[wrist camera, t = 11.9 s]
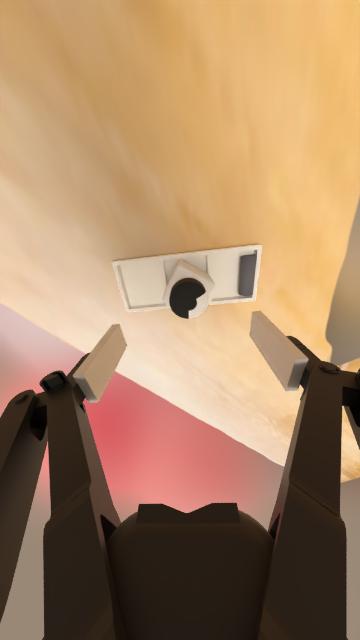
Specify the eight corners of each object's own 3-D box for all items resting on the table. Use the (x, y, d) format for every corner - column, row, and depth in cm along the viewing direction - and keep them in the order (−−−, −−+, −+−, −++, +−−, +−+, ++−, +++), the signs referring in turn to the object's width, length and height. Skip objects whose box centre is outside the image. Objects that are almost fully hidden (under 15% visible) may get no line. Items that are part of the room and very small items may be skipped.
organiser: (115, 260, 35) (111, 261, 33) (257, 244, 33) (262, 244, 31) (129, 308, 40) (126, 312, 38) (251, 297, 38) (255, 300, 36)
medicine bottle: (165, 289, 35) (157, 312, 25) (179, 258, 32) (178, 270, 22) (193, 302, 37) (197, 330, 26) (209, 274, 34) (222, 293, 23)
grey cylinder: (248, 257, 30) (260, 255, 31) (237, 256, 33) (249, 254, 34) (245, 297, 34) (255, 294, 35) (235, 293, 36) (245, 290, 37)
